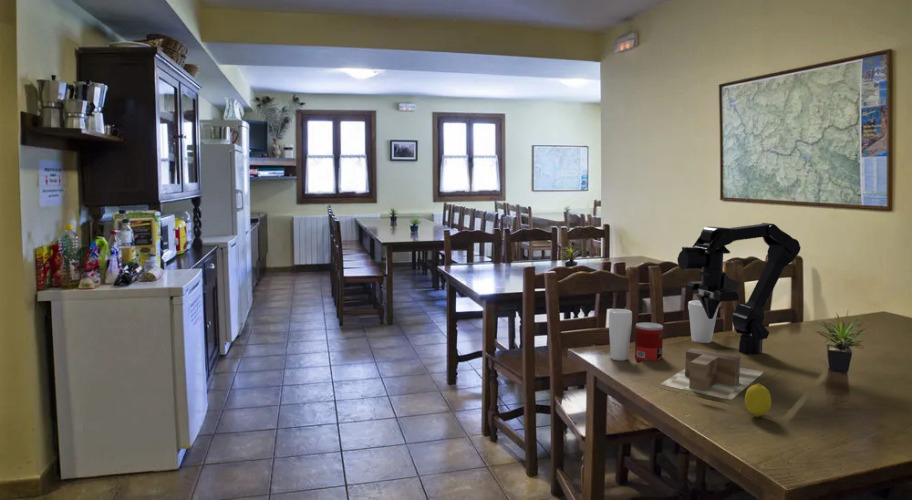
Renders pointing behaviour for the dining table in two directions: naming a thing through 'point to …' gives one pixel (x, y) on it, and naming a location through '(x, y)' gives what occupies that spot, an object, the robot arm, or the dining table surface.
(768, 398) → the lemon
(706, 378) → the t block
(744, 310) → the robot arm
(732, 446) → the dining table surface
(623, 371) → the dining table surface
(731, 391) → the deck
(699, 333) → the foam cup
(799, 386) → the dining table surface
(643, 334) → the canned food
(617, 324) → the light grey tumbler
